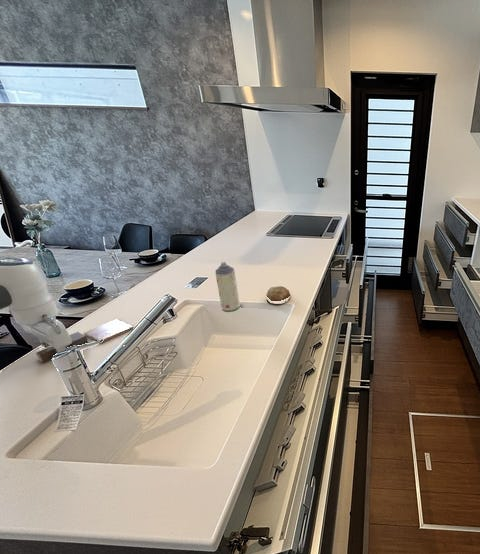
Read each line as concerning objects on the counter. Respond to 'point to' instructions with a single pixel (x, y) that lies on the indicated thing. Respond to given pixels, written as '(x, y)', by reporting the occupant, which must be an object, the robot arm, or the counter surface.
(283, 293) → the bread roll
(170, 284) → the counter surface
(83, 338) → the dish brush
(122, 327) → the light flat block
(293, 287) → the counter surface
